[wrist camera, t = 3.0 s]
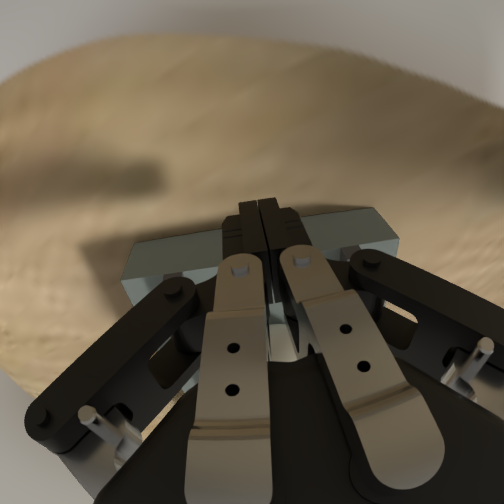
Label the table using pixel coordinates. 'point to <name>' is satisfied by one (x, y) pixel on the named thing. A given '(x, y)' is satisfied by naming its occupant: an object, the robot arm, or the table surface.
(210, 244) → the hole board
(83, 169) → the table surface
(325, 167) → the table surface
